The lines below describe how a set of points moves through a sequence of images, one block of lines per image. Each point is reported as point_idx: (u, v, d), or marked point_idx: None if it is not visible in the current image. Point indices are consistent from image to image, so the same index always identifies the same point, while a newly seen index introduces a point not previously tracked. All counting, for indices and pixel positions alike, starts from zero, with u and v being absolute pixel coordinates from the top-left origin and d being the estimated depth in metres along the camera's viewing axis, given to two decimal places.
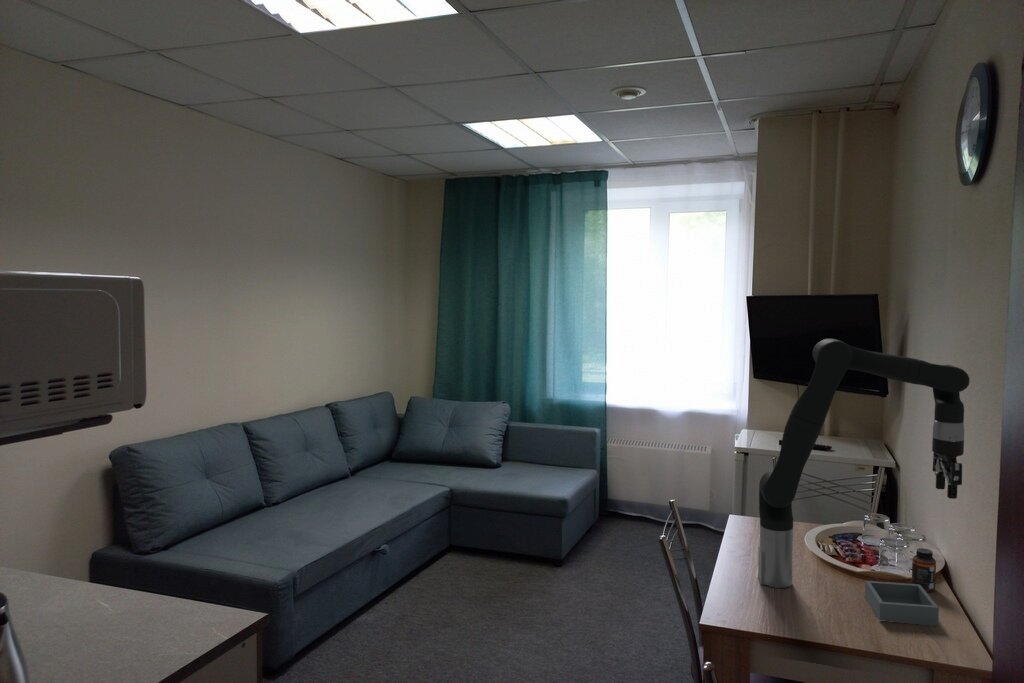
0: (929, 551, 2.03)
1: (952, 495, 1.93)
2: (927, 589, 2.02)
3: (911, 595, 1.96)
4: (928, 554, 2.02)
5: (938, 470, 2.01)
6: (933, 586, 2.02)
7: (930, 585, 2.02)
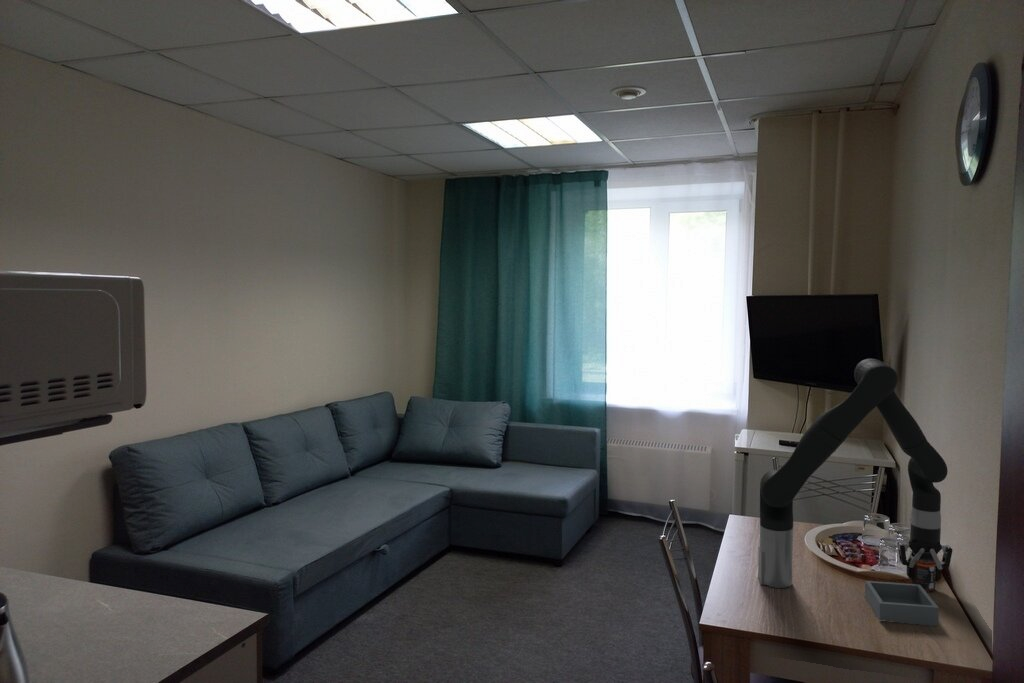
0: None
1: None
2: (927, 589, 2.02)
3: (911, 595, 1.96)
4: (928, 554, 2.02)
5: None
6: (933, 586, 2.02)
7: (930, 585, 2.02)
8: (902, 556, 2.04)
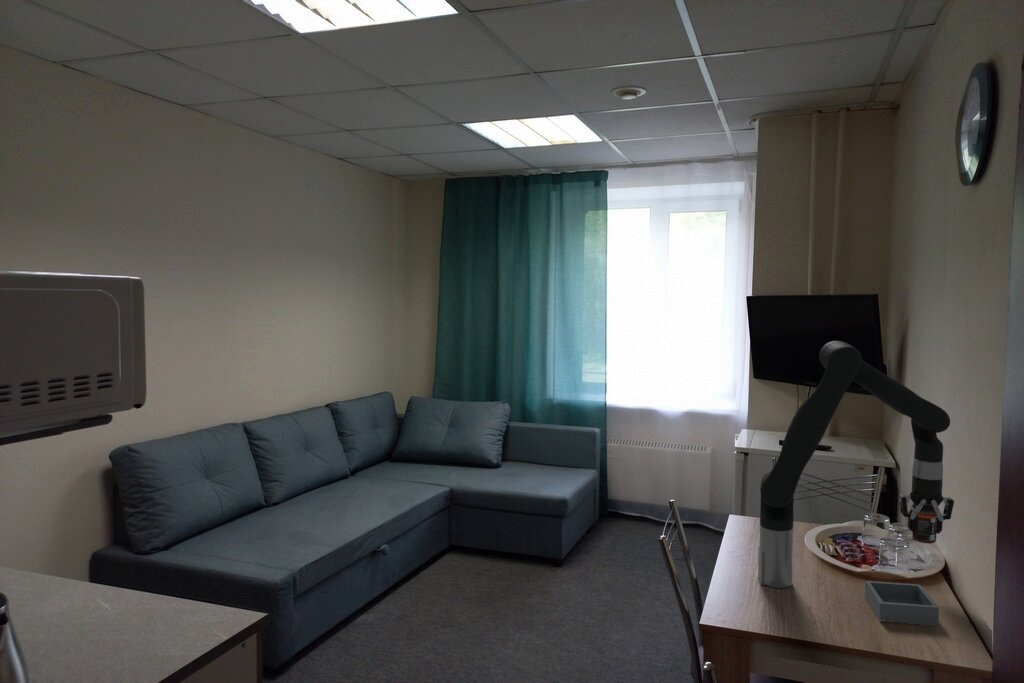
0: None
1: None
2: (928, 541, 2.01)
3: (911, 595, 1.96)
4: (929, 505, 2.01)
5: None
6: (934, 538, 2.01)
7: (931, 537, 2.00)
8: (903, 508, 2.03)
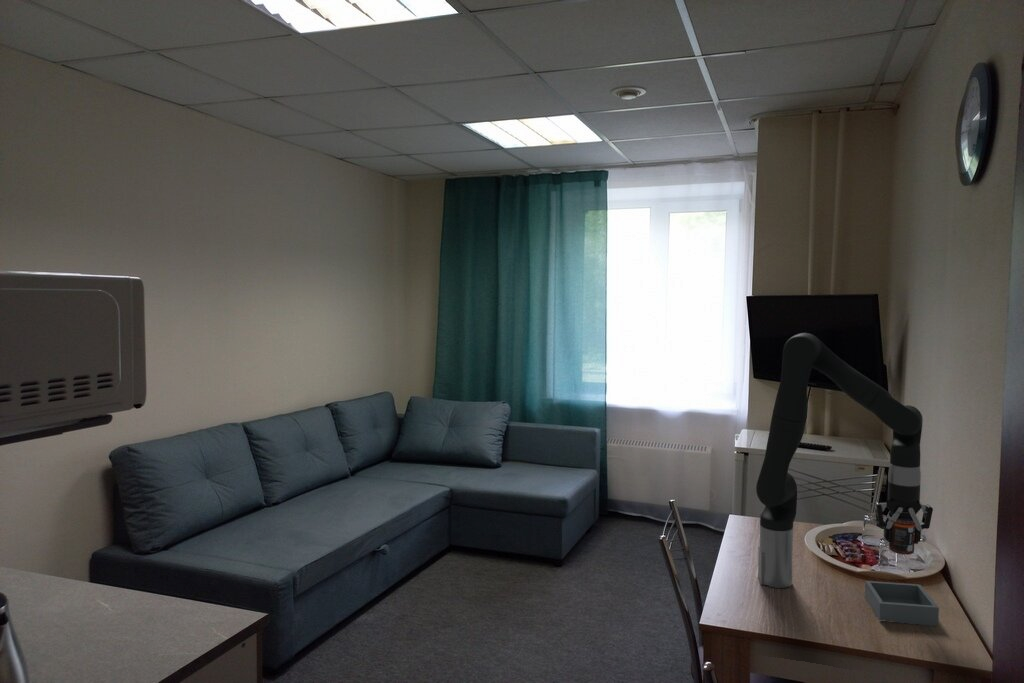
0: None
1: None
2: (905, 551, 1.87)
3: (911, 595, 1.96)
4: (907, 514, 1.87)
5: None
6: (912, 548, 1.87)
7: (909, 547, 1.87)
8: (879, 516, 1.89)
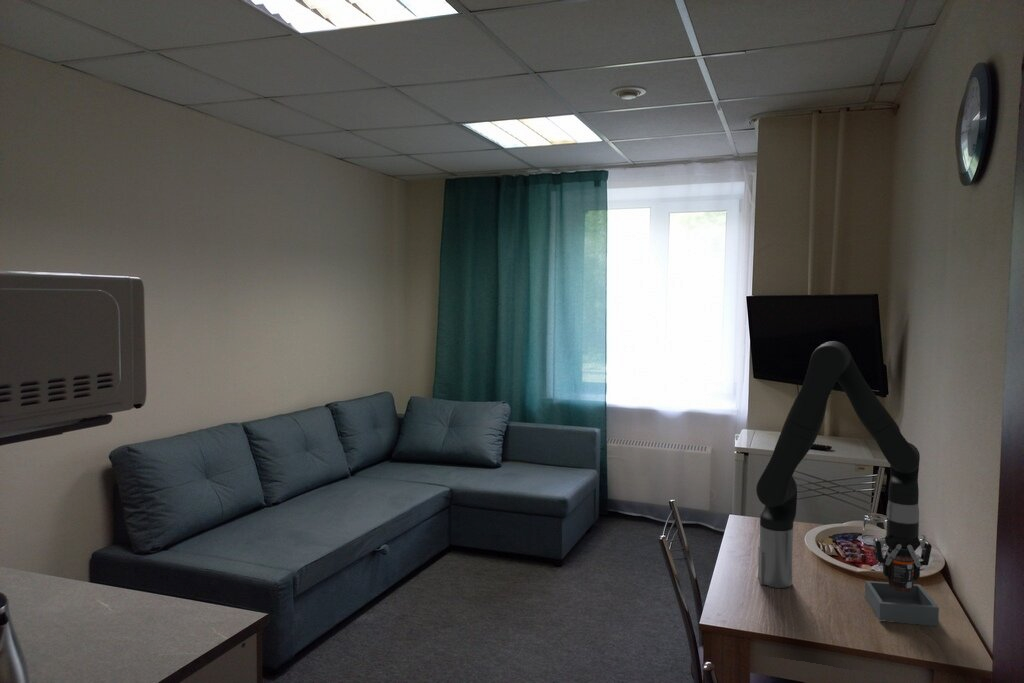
0: None
1: None
2: (904, 588, 1.87)
3: (911, 595, 1.96)
4: (905, 551, 1.87)
5: None
6: (911, 585, 1.88)
7: (908, 584, 1.87)
8: (878, 553, 1.90)
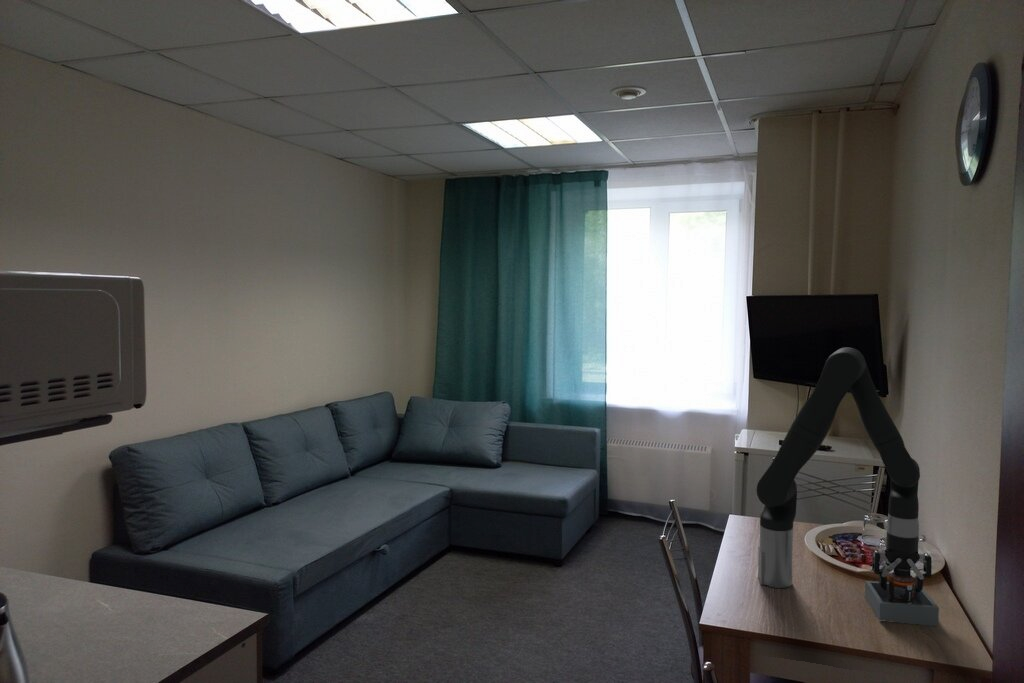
0: None
1: None
2: None
3: None
4: (906, 571, 1.88)
5: None
6: None
7: None
8: (875, 564, 1.90)
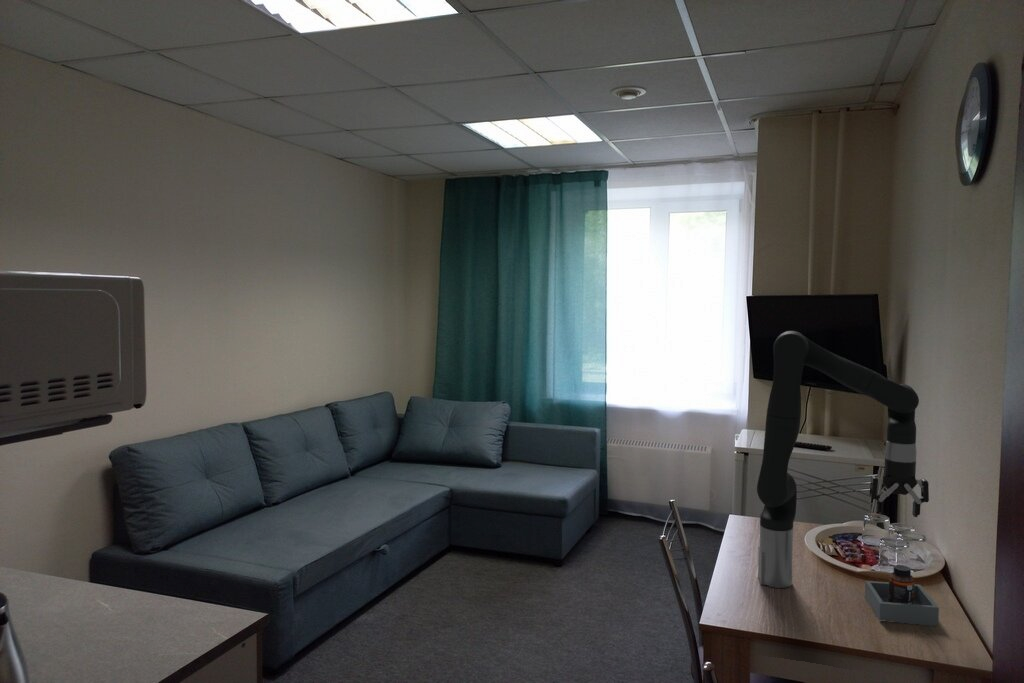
0: (907, 568, 1.89)
1: None
2: None
3: None
4: (906, 571, 1.88)
5: None
6: None
7: None
8: (873, 489, 1.95)
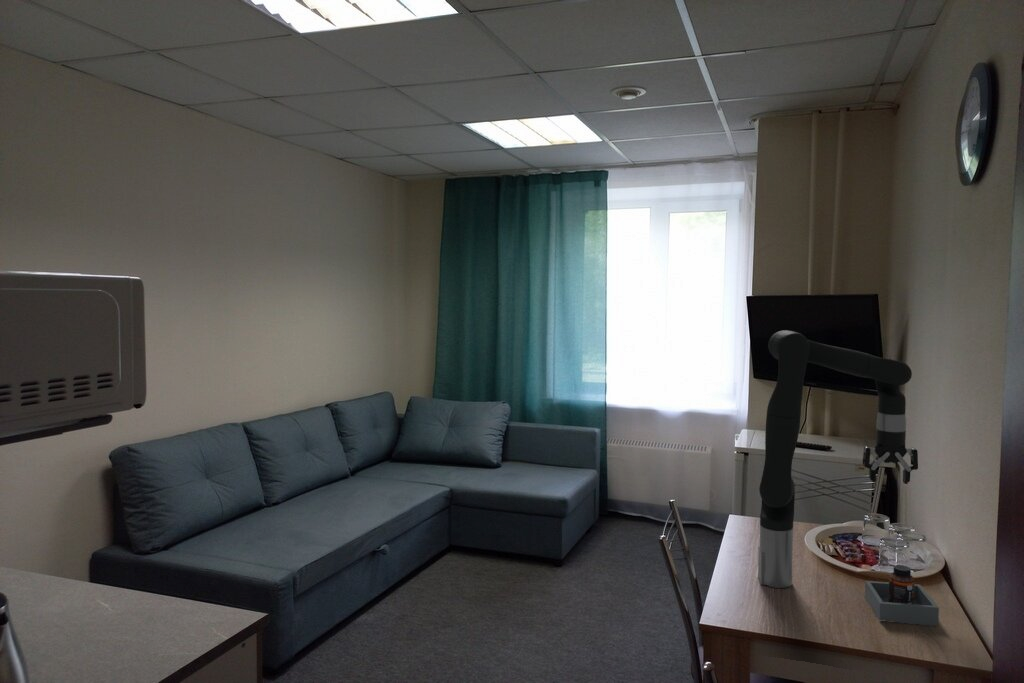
0: (907, 568, 1.89)
1: None
2: None
3: None
4: (906, 571, 1.88)
5: None
6: None
7: None
8: (866, 458, 2.06)
